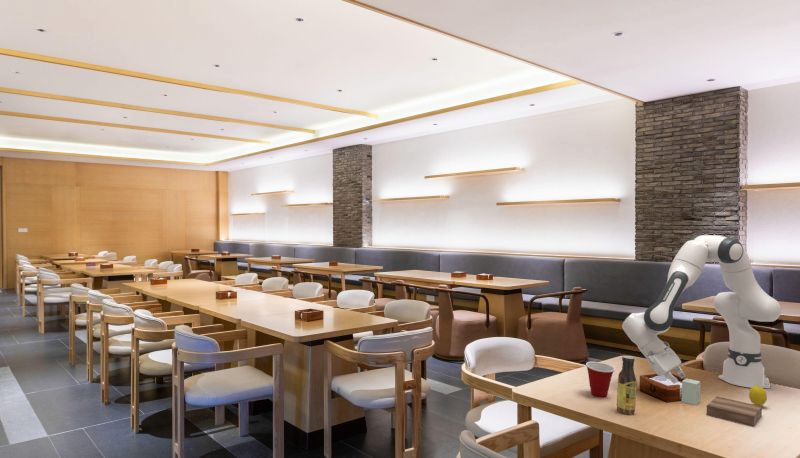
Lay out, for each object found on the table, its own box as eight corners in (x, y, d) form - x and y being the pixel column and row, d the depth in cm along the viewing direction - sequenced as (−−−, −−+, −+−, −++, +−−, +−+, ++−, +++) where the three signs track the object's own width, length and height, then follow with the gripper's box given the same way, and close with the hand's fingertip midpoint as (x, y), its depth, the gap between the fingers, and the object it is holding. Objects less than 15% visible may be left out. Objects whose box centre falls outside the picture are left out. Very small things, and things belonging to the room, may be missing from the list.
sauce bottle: (627, 416, 177) (629, 360, 177) (612, 410, 183) (614, 356, 183) (639, 413, 180) (641, 358, 180) (624, 407, 186) (626, 354, 186)
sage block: (685, 398, 197) (686, 378, 197) (699, 402, 194) (700, 381, 194) (681, 401, 194) (682, 381, 194) (696, 405, 190) (696, 384, 190)
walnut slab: (716, 406, 190) (716, 396, 190) (761, 417, 180) (761, 406, 180) (706, 416, 180) (706, 405, 180) (753, 428, 171) (753, 416, 171)
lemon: (769, 409, 187) (770, 388, 187) (752, 408, 188) (753, 387, 188) (762, 404, 193) (762, 383, 192) (745, 403, 194) (746, 382, 194)
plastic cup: (604, 402, 191) (605, 371, 191) (579, 394, 200) (580, 364, 200) (619, 397, 198) (620, 366, 197) (595, 389, 206) (595, 360, 206)
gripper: (651, 349, 194) (678, 381, 188) (668, 341, 209) (694, 370, 202) (638, 359, 198) (665, 390, 191) (656, 350, 212) (681, 379, 205)
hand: (680, 379), depth 196 cm, fingers open, 8 cm apart
